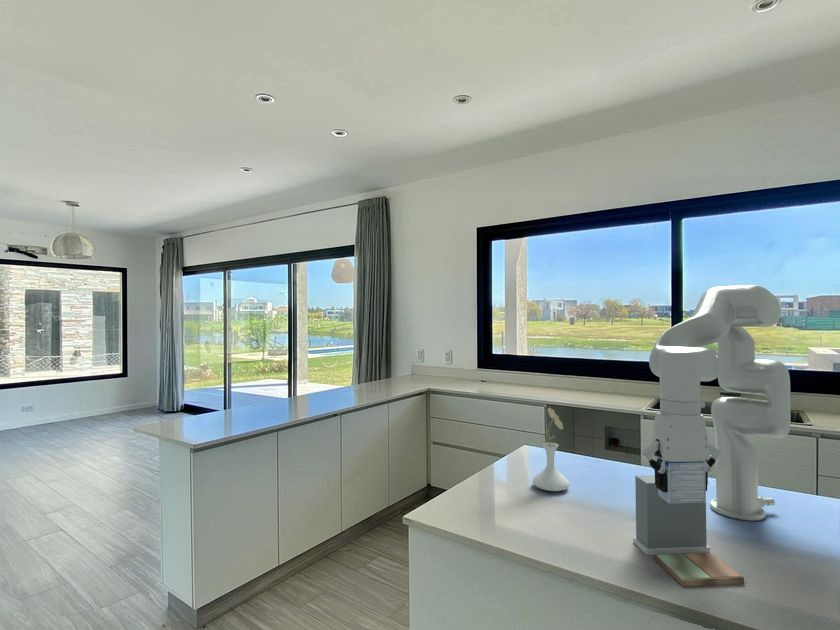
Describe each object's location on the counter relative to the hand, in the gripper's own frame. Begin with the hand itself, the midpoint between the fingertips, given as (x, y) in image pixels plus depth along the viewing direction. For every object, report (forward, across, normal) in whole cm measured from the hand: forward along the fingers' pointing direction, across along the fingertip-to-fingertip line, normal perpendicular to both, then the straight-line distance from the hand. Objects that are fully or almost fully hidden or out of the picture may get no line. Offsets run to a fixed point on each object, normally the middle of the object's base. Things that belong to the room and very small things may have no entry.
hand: (681, 489), depth 96 cm
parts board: (+18, -3, 0) cm, 18 cm away
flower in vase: (+18, +11, -49) cm, 54 cm away
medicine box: (+2, 0, 0) cm, 2 cm away
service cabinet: (+18, -4, -10) cm, 21 cm away
